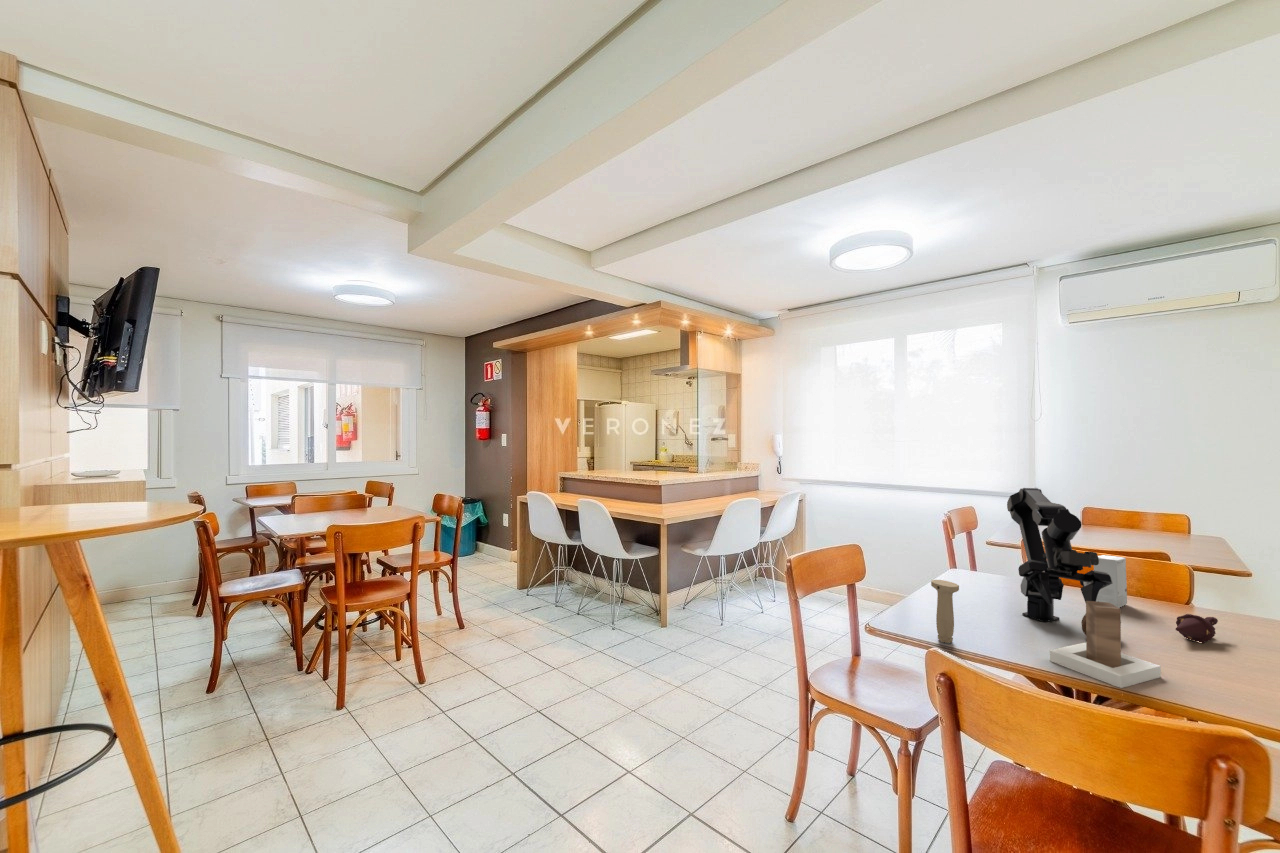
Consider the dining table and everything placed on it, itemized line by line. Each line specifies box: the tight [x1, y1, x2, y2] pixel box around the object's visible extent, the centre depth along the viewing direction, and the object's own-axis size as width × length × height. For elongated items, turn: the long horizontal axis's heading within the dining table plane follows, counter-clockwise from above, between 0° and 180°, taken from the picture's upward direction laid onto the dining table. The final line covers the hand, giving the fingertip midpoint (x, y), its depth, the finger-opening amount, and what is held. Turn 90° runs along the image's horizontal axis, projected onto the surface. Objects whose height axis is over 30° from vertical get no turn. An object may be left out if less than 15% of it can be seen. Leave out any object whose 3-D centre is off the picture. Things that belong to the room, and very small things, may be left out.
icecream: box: [1175, 613, 1219, 644], centre depth 136 cm, size 7×7×15 cm
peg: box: [1085, 601, 1122, 668], centre depth 120 cm, size 4×4×14 cm
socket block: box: [1049, 641, 1162, 689], centre depth 120 cm, size 14×14×2 cm
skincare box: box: [1093, 554, 1128, 609], centre depth 164 cm, size 8×6×15 cm
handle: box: [930, 579, 960, 644], centre depth 136 cm, size 5×6×15 cm
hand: (1070, 607), depth 131 cm, fingers open, 9 cm apart
